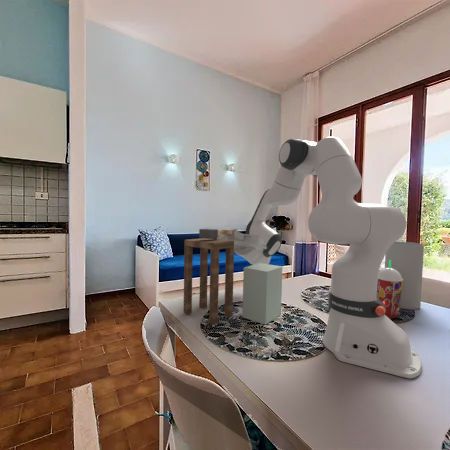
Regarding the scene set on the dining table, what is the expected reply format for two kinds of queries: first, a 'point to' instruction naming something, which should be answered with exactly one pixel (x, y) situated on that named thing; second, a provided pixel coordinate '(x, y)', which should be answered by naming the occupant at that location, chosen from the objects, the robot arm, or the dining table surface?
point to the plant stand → (214, 275)
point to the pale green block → (262, 292)
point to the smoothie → (390, 290)
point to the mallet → (215, 233)
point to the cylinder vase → (408, 271)
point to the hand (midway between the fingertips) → (229, 231)
